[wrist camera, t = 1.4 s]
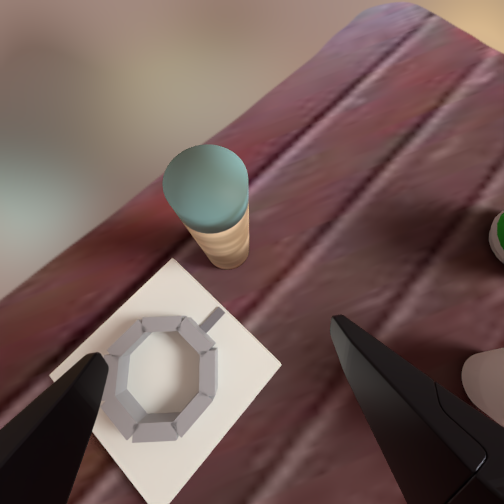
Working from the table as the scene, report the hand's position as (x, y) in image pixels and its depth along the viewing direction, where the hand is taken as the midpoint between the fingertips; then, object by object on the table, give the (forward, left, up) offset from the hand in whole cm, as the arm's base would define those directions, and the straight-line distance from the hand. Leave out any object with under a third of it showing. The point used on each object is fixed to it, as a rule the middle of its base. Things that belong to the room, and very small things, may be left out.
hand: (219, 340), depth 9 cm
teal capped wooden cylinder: (+5, +6, -13) cm, 15 cm away
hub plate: (-7, +2, -13) cm, 15 cm away
